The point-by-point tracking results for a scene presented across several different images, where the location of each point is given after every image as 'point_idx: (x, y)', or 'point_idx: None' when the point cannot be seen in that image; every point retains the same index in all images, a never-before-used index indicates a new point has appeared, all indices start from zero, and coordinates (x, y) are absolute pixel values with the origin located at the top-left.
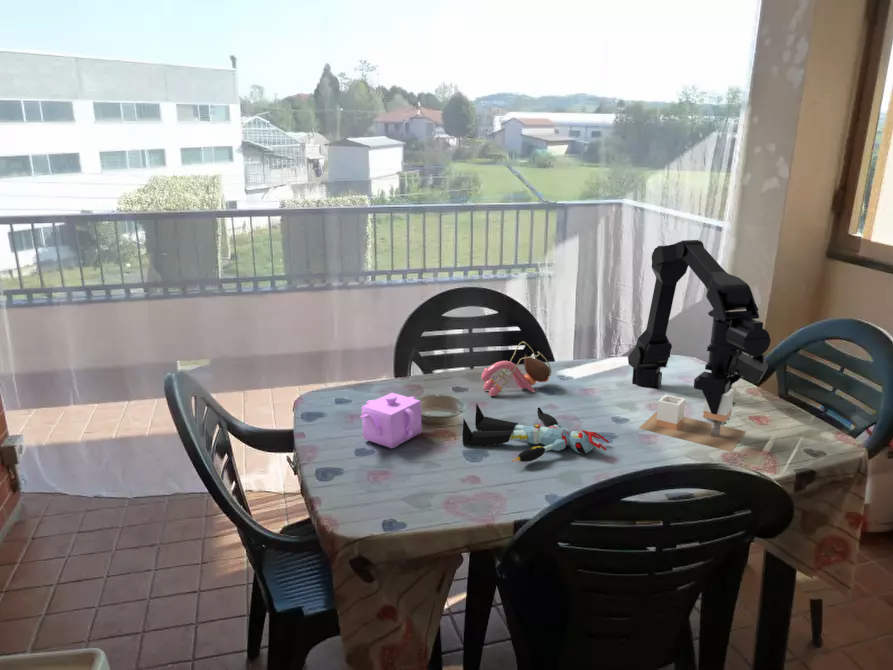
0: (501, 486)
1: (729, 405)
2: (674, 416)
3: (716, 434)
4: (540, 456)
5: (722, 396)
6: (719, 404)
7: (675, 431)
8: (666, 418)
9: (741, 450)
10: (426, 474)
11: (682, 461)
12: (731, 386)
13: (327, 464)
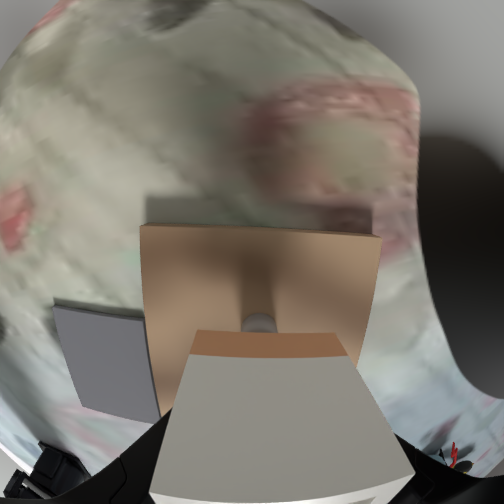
0: (497, 436)
1: (285, 395)
2: None
3: (275, 326)
4: (458, 463)
5: (415, 482)
6: (397, 438)
7: None
8: None
9: (297, 208)
10: (472, 472)
11: (440, 341)
12: (85, 485)
13: None
